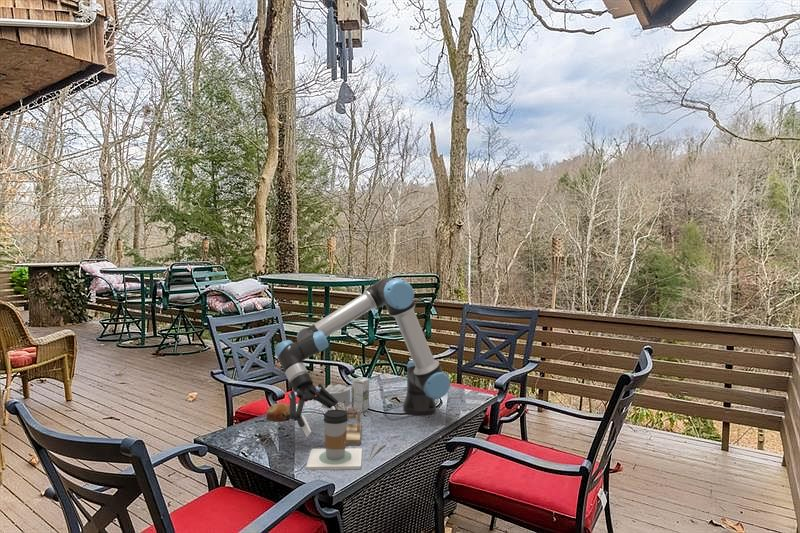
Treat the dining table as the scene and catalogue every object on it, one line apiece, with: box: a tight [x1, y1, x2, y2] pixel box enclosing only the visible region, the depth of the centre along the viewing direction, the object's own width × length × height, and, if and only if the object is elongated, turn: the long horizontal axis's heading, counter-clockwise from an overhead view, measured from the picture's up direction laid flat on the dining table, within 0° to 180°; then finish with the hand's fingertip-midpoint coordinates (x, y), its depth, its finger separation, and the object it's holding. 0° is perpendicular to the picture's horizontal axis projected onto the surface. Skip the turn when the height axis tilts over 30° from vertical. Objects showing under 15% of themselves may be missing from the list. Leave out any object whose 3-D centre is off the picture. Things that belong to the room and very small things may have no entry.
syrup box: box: [351, 376, 370, 414], centre depth 209 cm, size 6×6×14 cm
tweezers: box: [367, 442, 386, 461], centre depth 164 cm, size 18×5×2 cm, turn 167°
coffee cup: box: [323, 409, 349, 460], centre depth 159 cm, size 8×8×15 cm
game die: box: [326, 401, 348, 412], centre depth 197 cm, size 9×8×10 cm
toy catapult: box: [346, 406, 362, 446], centre depth 180 cm, size 19×8×10 cm, turn 3°
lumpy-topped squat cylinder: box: [322, 383, 351, 410], centre depth 217 cm, size 10×13×9 cm
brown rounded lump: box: [266, 402, 290, 422], centre depth 199 cm, size 10×10×8 cm
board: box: [305, 447, 363, 471], centre depth 159 cm, size 18×14×1 cm
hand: (324, 428), depth 162 cm, fingers open, 13 cm apart
